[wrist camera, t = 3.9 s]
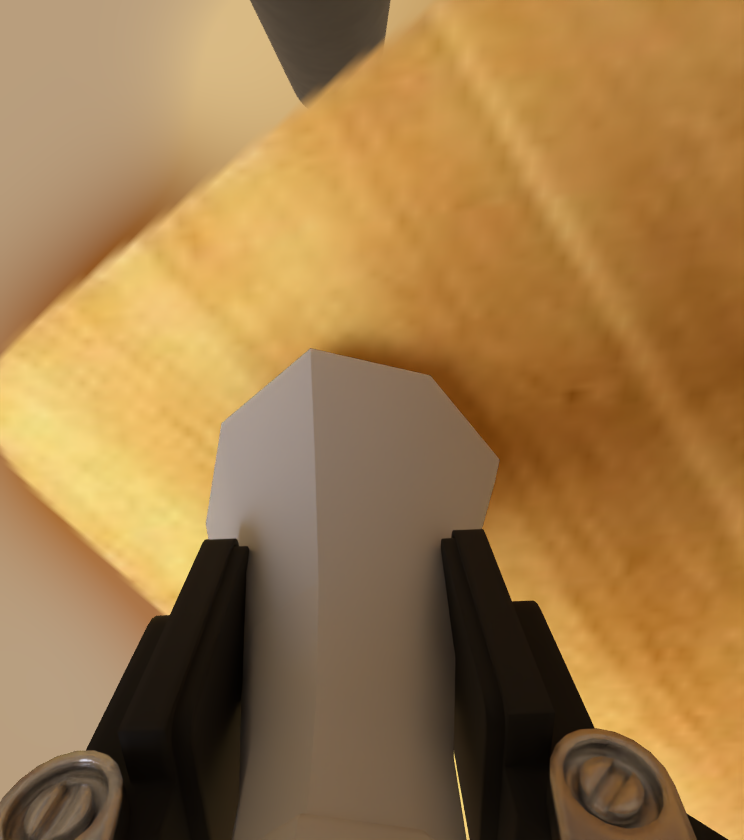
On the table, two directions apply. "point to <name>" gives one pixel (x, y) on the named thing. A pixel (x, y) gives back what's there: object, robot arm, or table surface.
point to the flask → (348, 598)
